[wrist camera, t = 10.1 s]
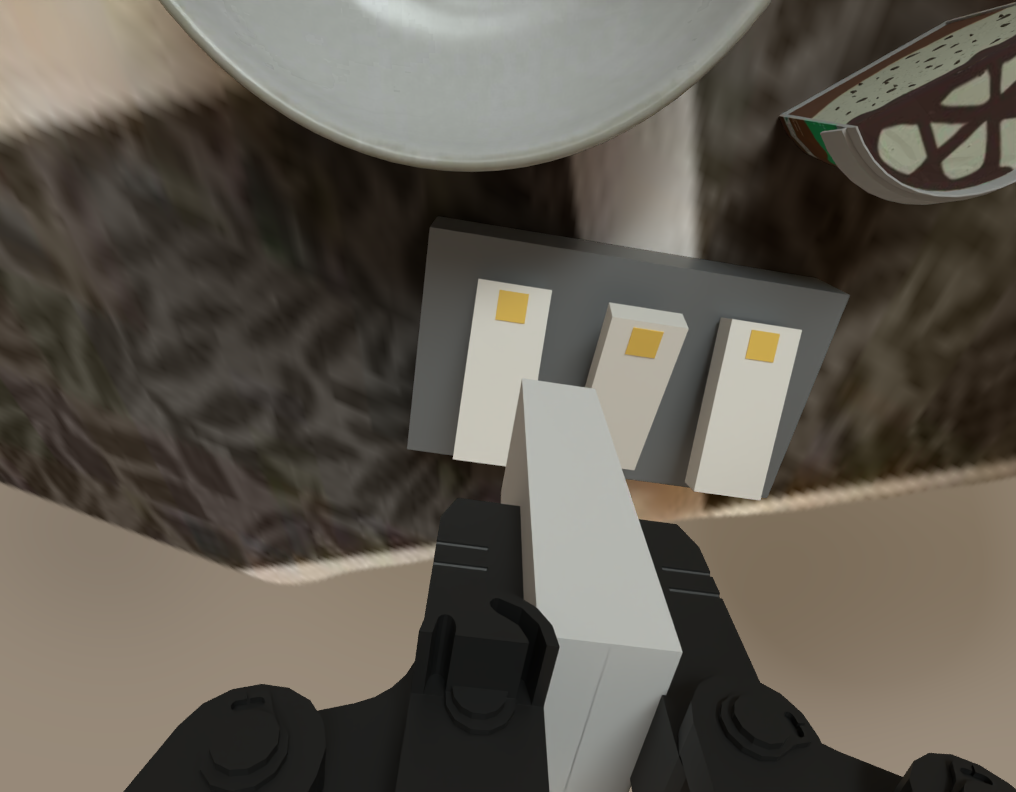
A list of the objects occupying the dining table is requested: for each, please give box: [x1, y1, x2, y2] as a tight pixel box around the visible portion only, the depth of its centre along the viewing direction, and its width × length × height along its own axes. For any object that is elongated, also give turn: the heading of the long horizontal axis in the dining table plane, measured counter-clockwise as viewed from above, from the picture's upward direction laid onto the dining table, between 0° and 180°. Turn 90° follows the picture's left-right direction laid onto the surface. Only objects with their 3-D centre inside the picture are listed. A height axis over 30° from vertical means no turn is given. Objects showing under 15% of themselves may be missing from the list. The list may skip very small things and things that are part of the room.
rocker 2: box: [585, 302, 689, 470], centre depth 34 cm, size 10×4×2 cm, turn 171°
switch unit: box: [407, 216, 850, 498], centre depth 38 cm, size 14×24×5 cm, turn 81°
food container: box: [779, 2, 1016, 205], centre depth 29 cm, size 12×6×10 cm, turn 120°
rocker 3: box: [685, 317, 802, 500], centre depth 35 cm, size 10×4×2 cm, turn 171°
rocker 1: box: [453, 279, 552, 466], centre depth 34 cm, size 10×4×2 cm, turn 171°
